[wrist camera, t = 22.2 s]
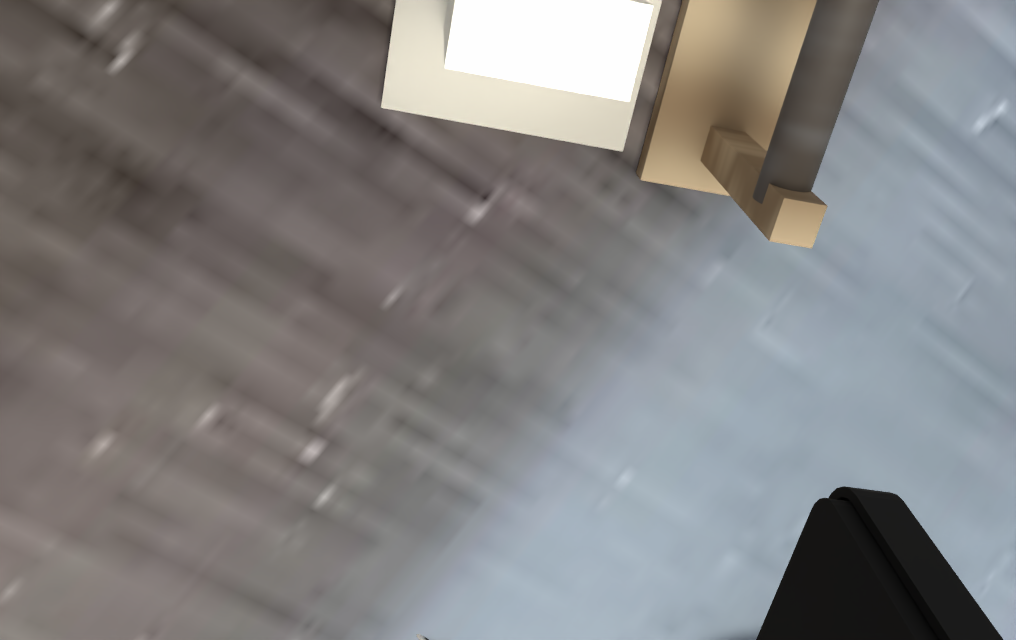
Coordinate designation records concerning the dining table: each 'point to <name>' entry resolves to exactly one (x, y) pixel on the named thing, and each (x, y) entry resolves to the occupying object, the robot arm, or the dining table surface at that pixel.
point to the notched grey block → (550, 42)
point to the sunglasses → (421, 637)
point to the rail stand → (755, 104)
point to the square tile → (495, 87)
